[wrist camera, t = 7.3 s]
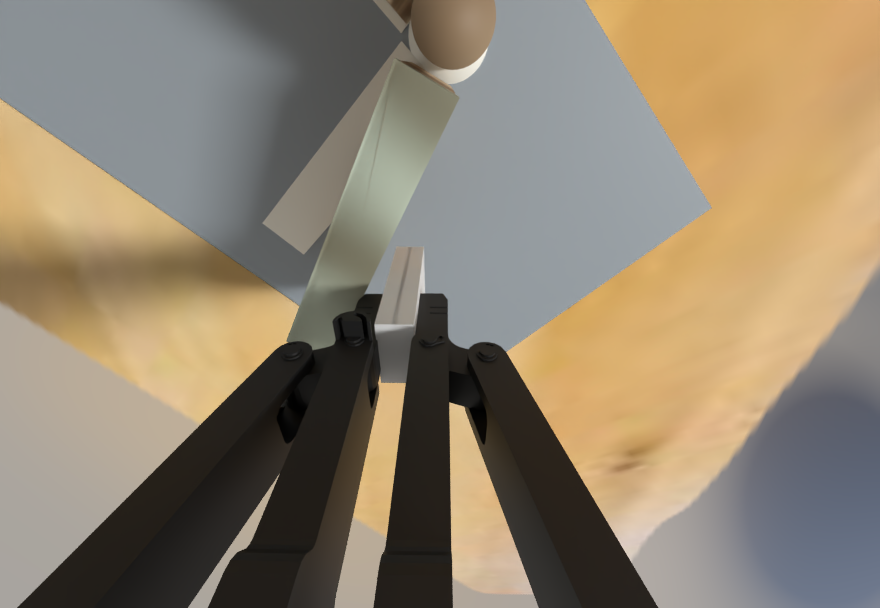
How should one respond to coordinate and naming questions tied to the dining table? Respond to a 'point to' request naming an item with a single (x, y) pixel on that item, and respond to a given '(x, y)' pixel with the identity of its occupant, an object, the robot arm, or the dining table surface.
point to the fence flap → (374, 196)
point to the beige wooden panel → (449, 29)
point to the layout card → (341, 134)
